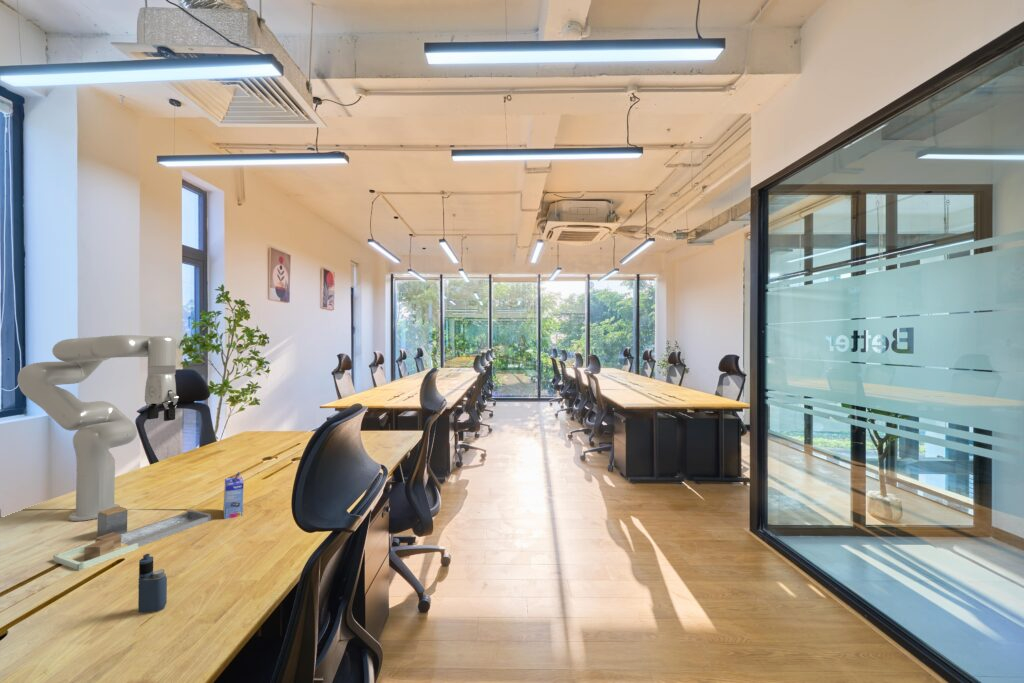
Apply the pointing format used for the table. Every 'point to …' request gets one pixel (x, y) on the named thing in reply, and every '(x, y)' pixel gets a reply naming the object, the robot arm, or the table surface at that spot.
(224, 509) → the ink cartridge box
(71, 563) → the tray
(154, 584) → the vaping device
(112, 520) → the orange and gray block
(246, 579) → the table surface
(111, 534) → the tan cardboard cube
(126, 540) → the open rectangular box
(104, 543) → the brown cube
